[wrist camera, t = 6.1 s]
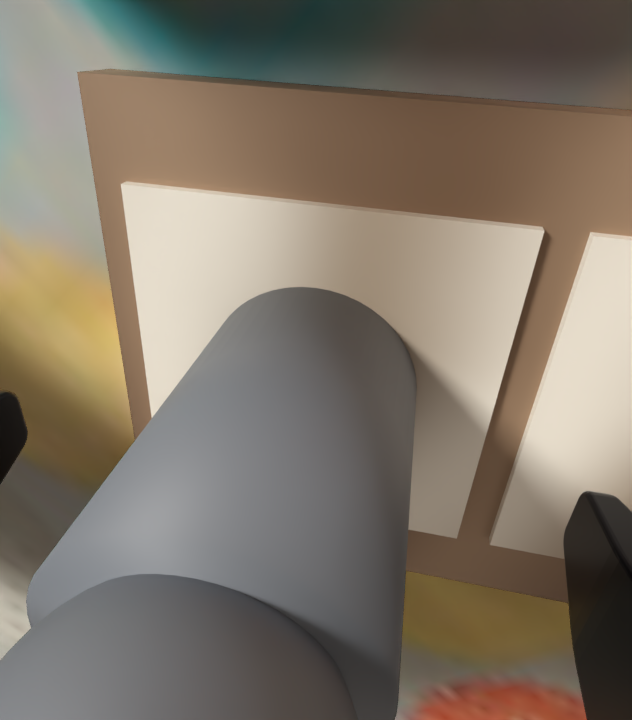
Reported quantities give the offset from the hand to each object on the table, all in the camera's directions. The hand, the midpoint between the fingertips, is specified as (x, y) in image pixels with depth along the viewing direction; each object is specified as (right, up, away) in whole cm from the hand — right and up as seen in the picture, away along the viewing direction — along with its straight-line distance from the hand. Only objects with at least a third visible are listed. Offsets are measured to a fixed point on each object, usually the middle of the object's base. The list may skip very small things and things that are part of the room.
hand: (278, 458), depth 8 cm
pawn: (+1, +1, +2) cm, 2 cm away
